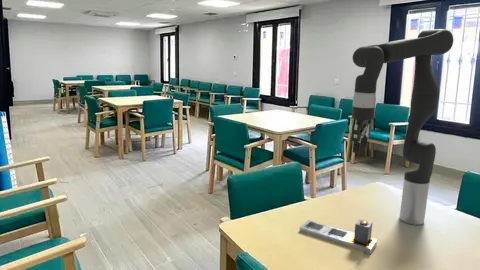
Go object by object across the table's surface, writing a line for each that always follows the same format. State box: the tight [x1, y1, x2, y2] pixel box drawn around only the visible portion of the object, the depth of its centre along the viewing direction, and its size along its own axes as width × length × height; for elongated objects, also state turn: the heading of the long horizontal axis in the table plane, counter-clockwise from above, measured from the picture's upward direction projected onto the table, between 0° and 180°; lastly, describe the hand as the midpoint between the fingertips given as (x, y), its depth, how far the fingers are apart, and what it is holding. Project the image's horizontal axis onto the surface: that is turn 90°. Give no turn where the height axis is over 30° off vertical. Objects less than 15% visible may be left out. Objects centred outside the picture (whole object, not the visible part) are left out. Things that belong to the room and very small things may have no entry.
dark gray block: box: [354, 219, 373, 247], centre depth 126 cm, size 4×4×9 cm
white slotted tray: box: [299, 219, 378, 256], centre depth 132 cm, size 8×26×2 cm, turn 55°
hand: (359, 150), depth 130 cm, fingers open, 8 cm apart
